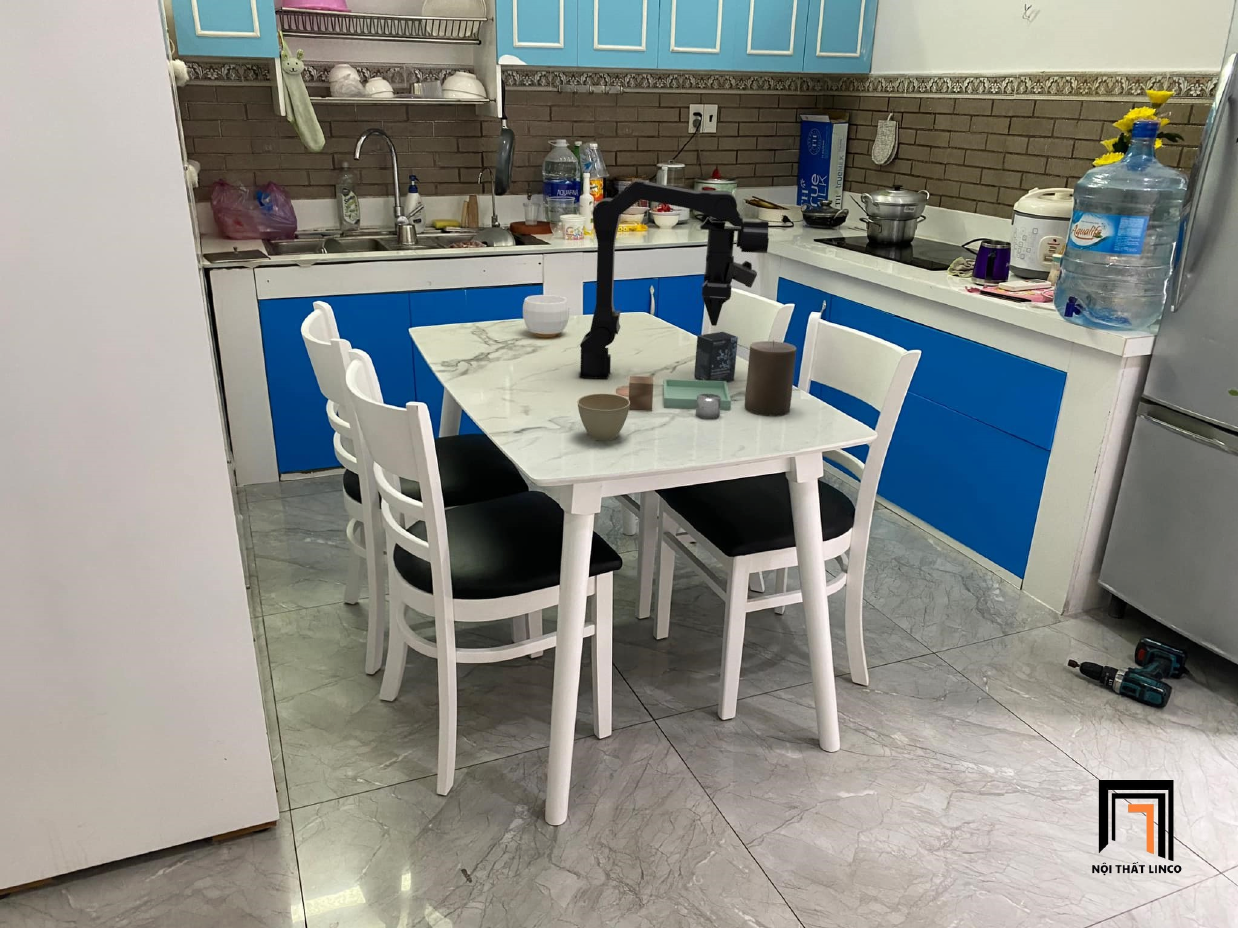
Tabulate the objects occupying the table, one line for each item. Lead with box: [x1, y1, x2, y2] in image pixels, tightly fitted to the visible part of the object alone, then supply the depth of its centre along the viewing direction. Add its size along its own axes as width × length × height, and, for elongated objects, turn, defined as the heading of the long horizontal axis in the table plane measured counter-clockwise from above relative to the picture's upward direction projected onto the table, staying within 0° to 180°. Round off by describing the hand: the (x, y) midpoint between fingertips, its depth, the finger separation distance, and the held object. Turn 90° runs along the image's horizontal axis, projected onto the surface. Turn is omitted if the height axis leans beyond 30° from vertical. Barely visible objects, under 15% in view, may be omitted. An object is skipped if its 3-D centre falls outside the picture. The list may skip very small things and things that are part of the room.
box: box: [693, 331, 739, 382], centre depth 216 cm, size 8×6×11 cm
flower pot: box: [576, 392, 630, 442], centre depth 179 cm, size 10×10×7 cm
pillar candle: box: [744, 339, 797, 417], centre depth 196 cm, size 10×10×15 cm
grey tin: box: [695, 394, 721, 421], centre depth 193 cm, size 5×5×4 cm
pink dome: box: [615, 385, 629, 398], centre depth 207 cm, size 7×7×1 cm
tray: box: [662, 378, 732, 411], centre depth 204 cm, size 14×14×2 cm
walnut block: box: [628, 375, 654, 412], centre depth 197 cm, size 5×5×6 cm
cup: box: [522, 294, 570, 338], centre depth 250 cm, size 12×12×10 cm
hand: (714, 320), depth 211 cm, fingers open, 9 cm apart
